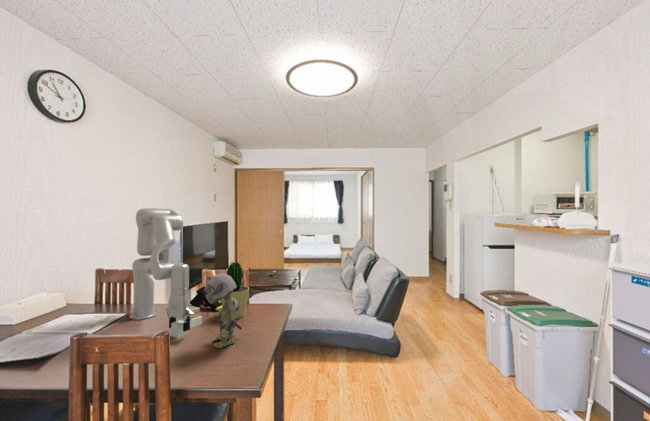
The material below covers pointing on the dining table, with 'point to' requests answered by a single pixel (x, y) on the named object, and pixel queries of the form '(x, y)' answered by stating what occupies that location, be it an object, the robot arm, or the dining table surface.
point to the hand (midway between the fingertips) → (179, 328)
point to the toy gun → (204, 300)
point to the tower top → (195, 312)
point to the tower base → (194, 321)
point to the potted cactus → (238, 289)
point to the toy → (217, 290)
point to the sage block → (177, 329)
